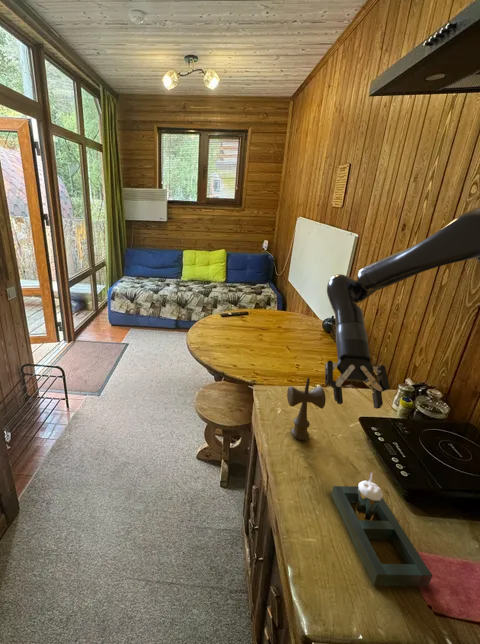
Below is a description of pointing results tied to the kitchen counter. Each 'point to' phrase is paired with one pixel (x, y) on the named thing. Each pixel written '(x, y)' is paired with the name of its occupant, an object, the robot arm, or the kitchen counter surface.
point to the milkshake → (367, 499)
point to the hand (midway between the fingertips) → (358, 405)
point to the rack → (386, 528)
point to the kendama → (304, 407)
